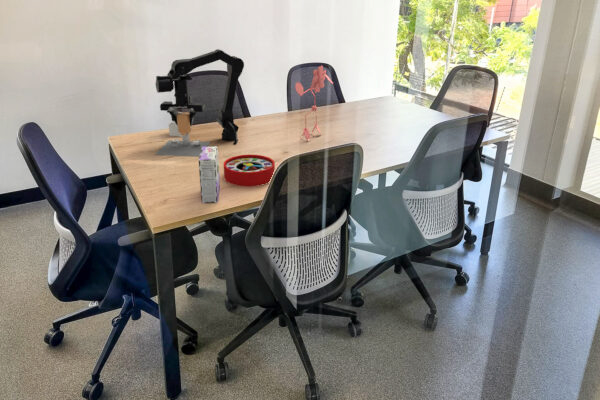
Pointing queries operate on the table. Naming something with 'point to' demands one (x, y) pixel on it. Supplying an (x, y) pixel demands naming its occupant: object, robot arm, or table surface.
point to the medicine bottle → (174, 128)
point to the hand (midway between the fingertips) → (184, 125)
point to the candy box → (209, 174)
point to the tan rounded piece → (183, 123)
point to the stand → (183, 147)
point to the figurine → (317, 83)
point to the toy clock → (248, 170)
